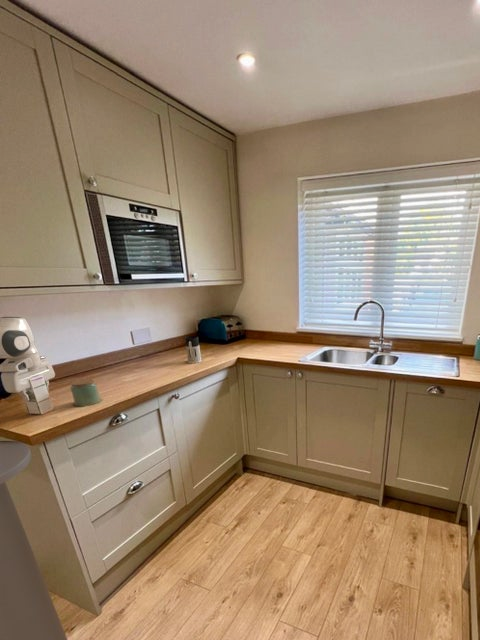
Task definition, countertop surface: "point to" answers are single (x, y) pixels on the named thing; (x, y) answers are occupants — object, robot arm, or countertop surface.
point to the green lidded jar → (85, 392)
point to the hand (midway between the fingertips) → (36, 396)
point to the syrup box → (38, 396)
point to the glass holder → (193, 349)
